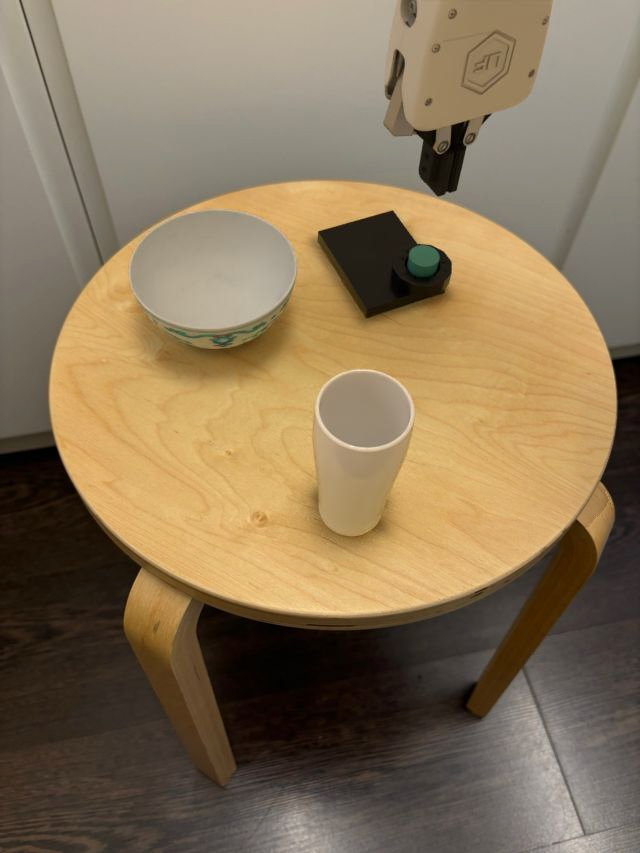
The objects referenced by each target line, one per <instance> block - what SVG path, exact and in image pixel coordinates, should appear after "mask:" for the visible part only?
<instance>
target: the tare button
mask: <svg viewBox="0 0 640 853" xmlns="http://www.w3.org/2000/svg"><path fill="white" fill-rule="evenodd" d="M438 262H439V253H438V252H437V251H436V250H435V249H434V248H432V247H430V246H426V245H419V246H416V247H414V248H412V249H411V251H410V253H409V258H408V263H407V268H408V270H409V272H410V273H411V274H413V275H415V276H417V277H430V276H432V275H434V274H435V272H436V271H437V267H438Z"/></svg>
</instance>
